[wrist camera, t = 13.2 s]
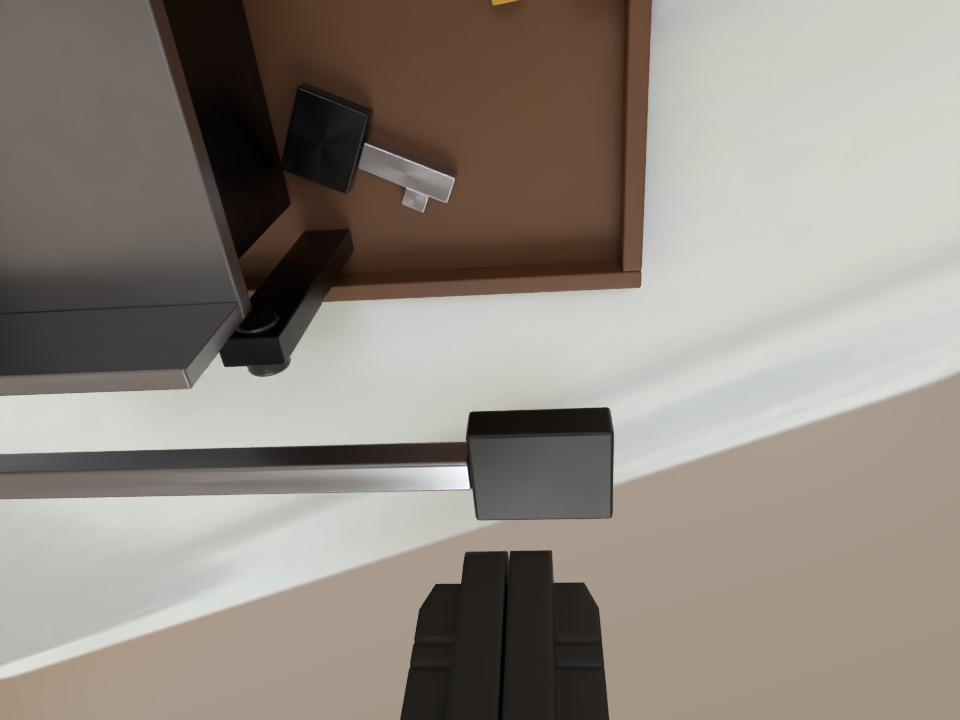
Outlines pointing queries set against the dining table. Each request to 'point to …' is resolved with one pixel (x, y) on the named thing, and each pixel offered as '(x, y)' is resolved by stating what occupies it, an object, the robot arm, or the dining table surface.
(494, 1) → the brass key
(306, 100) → the black key
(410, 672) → the robot arm
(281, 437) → the dining table surface
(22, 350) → the fryer basket
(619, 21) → the tray
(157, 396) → the dining table surface
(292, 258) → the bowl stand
